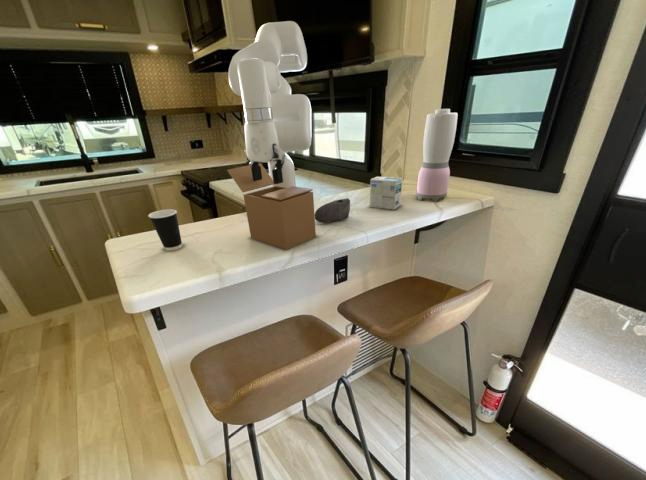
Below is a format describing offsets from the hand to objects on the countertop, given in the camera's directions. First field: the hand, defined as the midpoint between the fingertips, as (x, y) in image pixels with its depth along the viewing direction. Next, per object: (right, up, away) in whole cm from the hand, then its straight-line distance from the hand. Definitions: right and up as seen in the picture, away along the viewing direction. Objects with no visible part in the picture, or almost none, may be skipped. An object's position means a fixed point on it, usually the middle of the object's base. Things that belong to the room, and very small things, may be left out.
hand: (267, 181), depth 94 cm
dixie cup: (-31, -19, +4) cm, 36 cm away
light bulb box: (+42, +1, +30) cm, 52 cm away
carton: (+4, -16, +6) cm, 17 cm away
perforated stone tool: (+21, -7, +18) cm, 29 cm away
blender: (+64, +8, +39) cm, 75 cm away
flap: (-6, +3, +4) cm, 7 cm away
